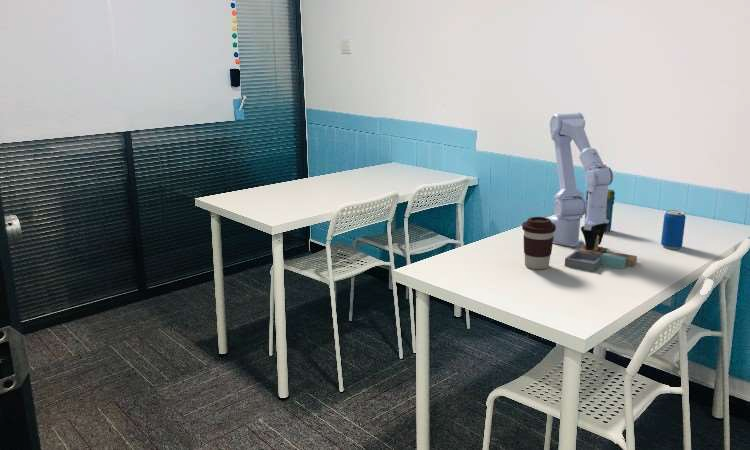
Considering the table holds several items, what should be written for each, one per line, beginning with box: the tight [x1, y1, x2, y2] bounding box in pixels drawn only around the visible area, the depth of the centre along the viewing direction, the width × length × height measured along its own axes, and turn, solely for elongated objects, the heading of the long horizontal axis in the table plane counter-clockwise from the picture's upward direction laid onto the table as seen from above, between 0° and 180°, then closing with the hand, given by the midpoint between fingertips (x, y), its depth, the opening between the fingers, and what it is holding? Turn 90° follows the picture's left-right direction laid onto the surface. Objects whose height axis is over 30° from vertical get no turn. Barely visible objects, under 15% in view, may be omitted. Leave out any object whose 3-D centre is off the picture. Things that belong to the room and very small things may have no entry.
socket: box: [577, 244, 609, 255], centre depth 210 cm, size 7×7×2 cm
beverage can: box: [660, 209, 686, 250], centre depth 217 cm, size 6×6×12 cm
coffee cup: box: [521, 216, 556, 270], centre depth 200 cm, size 10×10×15 cm
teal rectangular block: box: [600, 253, 627, 270], centre depth 201 cm, size 7×3×3 cm, turn 53°
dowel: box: [588, 235, 599, 252], centre depth 209 cm, size 3×3×7 cm
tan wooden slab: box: [608, 251, 638, 268], centre depth 204 cm, size 8×5×2 cm, turn 58°
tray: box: [564, 250, 602, 272], centre depth 203 cm, size 9×9×2 cm
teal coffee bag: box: [584, 189, 616, 233], centre depth 236 cm, size 10×4×15 cm, turn 58°
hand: (593, 246), depth 209 cm, fingers open, 6 cm apart
